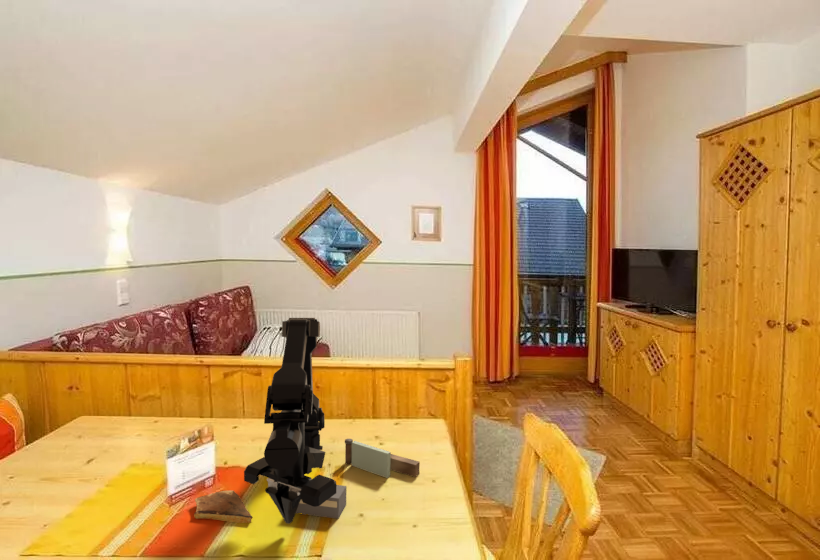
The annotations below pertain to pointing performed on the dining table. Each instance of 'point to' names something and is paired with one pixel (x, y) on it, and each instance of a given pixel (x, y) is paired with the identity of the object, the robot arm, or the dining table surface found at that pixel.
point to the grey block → (327, 505)
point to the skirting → (404, 465)
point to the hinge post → (348, 451)
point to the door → (371, 459)
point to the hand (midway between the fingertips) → (289, 522)
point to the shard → (222, 507)
